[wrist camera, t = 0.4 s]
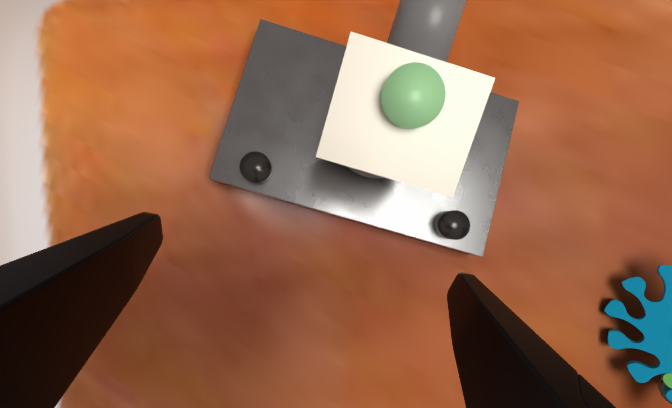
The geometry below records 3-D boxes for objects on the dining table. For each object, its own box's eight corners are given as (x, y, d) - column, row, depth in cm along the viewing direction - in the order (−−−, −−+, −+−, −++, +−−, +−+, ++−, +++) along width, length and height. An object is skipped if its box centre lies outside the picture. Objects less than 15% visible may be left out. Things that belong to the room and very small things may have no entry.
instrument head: (405, 187, 21) (454, 211, 13) (320, 162, 21) (311, 169, 12) (452, 44, 20) (543, -39, 11) (362, 14, 19) (385, -94, 11)
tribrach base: (468, 254, 24) (492, 258, 21) (217, 182, 23) (202, 175, 20) (502, 111, 25) (530, 94, 22) (264, 36, 24) (257, 7, 21)
